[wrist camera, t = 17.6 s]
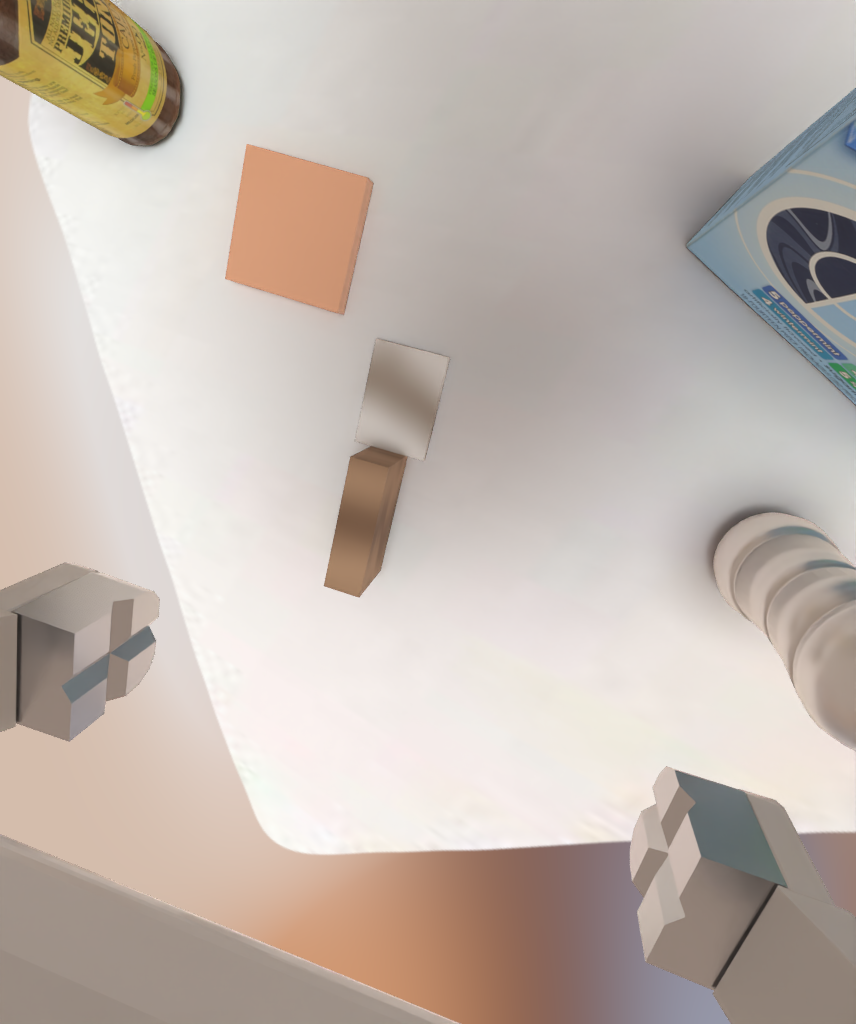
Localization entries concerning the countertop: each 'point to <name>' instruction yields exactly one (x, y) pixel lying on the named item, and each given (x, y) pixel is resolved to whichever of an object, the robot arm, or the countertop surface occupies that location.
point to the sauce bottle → (91, 65)
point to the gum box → (798, 244)
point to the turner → (383, 458)
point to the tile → (297, 228)
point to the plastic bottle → (798, 609)
